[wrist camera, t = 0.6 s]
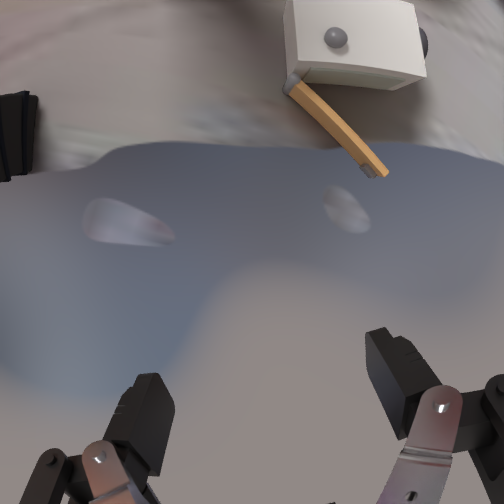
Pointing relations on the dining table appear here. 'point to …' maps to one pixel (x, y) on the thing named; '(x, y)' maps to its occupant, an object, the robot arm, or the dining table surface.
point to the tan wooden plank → (334, 126)
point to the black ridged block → (16, 134)
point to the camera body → (354, 42)
